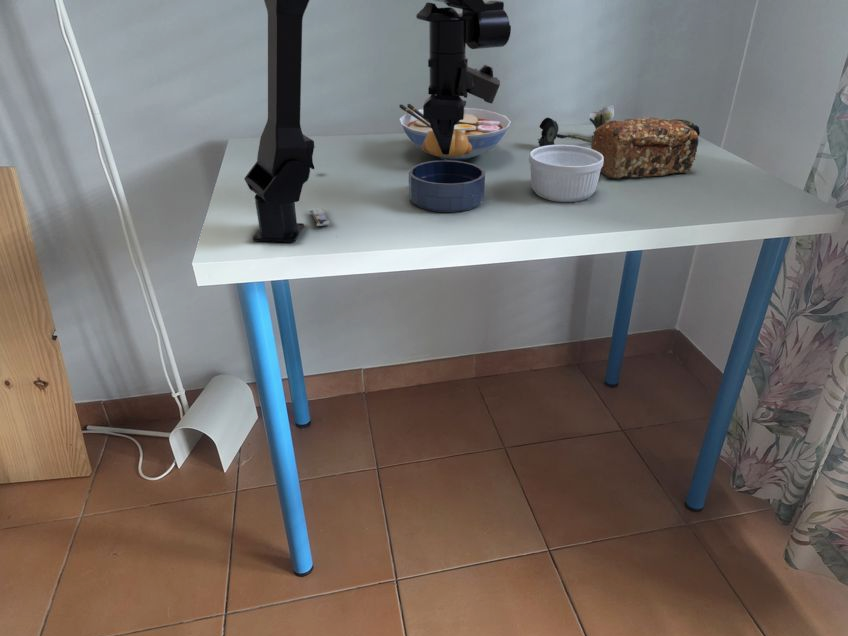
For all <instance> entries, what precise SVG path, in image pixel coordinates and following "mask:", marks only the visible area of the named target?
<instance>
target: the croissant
mask: <svg viewBox="0 0 848 636" xmlns="http://www.w3.org/2000/svg"><path fill="white" fill-rule="evenodd" d="M422 148H423V150H424V151H423V150H422V151H423V152H424V153H425V154H429V153H430V154H429V155H432V156H435V157H437V156H447V157H458V156H461V155H463V154H465V155H467V154H469V153H470V152H471V151H472V145H471V143H469V142H468V138H467V136H466V135H465V134H464V133H463V132H462V131H460V130H454V131H453V136H452V141H451V146H450V151H449V154H442V152H441V149H440V147H439V144H438V142H437V139H436V137H435V135H434V132H433V130H432V131H430V132H429V133H428V134H427V136H426V139H425V141H424V143H423V145H422Z"/></svg>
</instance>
